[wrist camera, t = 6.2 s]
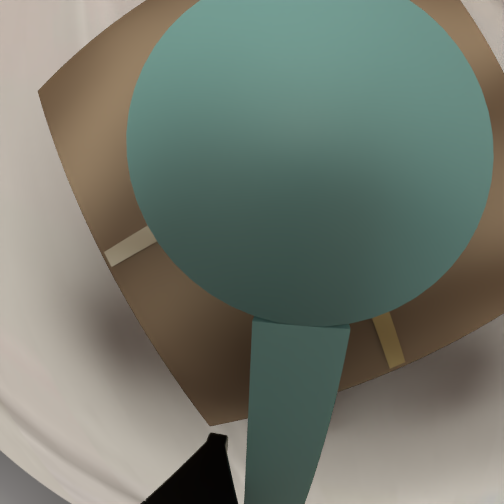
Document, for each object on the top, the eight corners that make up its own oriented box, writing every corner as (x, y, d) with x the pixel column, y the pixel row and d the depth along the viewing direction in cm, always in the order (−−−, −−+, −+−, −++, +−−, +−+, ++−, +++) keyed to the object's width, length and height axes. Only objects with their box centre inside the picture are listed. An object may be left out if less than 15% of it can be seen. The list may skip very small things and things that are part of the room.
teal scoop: (211, 55, 8) (130, -30, 3) (410, 66, 7) (490, -10, 2) (211, 447, 12) (176, 538, 7) (347, 460, 11) (351, 557, 6)
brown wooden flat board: (542, 267, 9) (560, 276, 8) (216, 408, 13) (208, 429, 12) (378, -69, 7) (383, -87, 5) (55, 94, 11) (34, 90, 9)
